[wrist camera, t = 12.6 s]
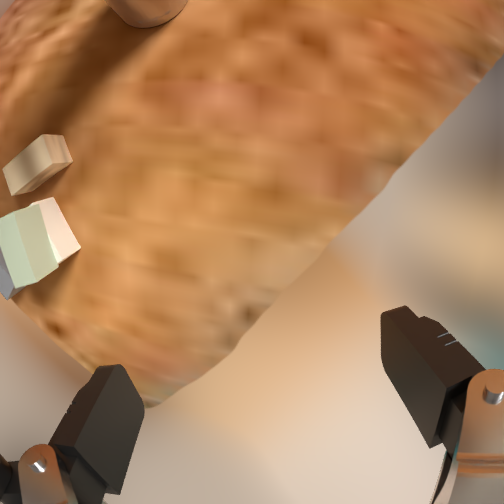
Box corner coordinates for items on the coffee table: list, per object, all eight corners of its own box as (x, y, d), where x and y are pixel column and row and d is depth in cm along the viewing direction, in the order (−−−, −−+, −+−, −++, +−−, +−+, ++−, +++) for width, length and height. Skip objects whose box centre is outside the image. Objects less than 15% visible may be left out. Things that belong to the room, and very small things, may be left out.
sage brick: (18, 213, 30) (-7, 222, 25) (38, 203, 29) (13, 211, 25) (37, 273, 32) (15, 288, 27) (58, 266, 32) (36, 282, 27)
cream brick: (36, 212, 34) (15, 219, 30) (53, 196, 34) (32, 202, 29) (63, 261, 37) (44, 273, 32) (81, 247, 36) (62, 259, 31)
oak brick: (33, 191, 34) (11, 196, 29) (24, 166, 33) (2, 168, 28) (73, 161, 33) (52, 163, 28) (63, 135, 32) (42, 134, 27)
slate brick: (-4, 251, 36) (-24, 261, 31) (4, 233, 35) (-16, 242, 30) (25, 287, 38) (7, 300, 33) (34, 271, 37) (15, 283, 32)
